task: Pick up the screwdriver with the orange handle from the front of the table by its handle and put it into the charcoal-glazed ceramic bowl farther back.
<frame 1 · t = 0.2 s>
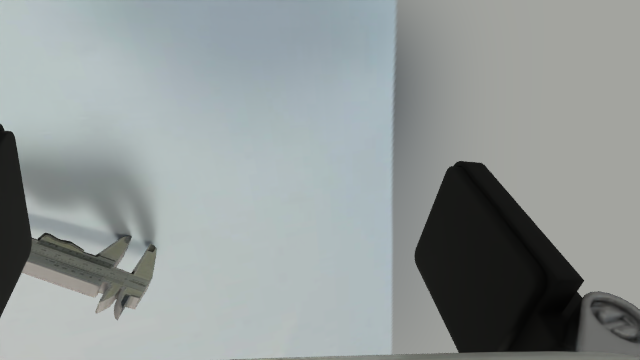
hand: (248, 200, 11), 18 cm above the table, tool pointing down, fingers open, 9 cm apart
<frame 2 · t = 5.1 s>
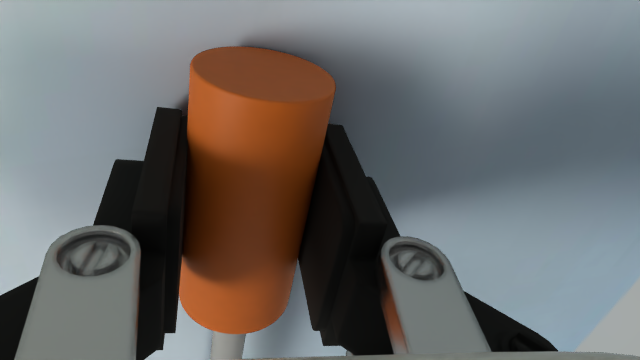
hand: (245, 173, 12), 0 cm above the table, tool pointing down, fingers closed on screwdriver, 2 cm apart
screwdriver: (234, 248, 13), on the table, touching gripper
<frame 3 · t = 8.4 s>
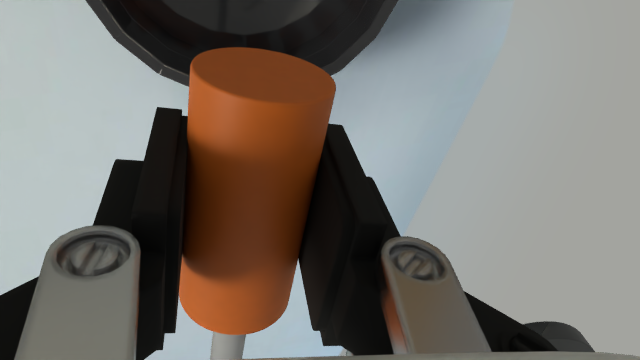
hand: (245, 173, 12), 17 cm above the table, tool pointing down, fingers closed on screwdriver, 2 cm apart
screwdriver: (234, 249, 13), point 17 cm above the table, touching gripper
when the fingers open (4 cm above the table, at t = 11.8 s): screwdriver moves 1 cm, resting on bowl.
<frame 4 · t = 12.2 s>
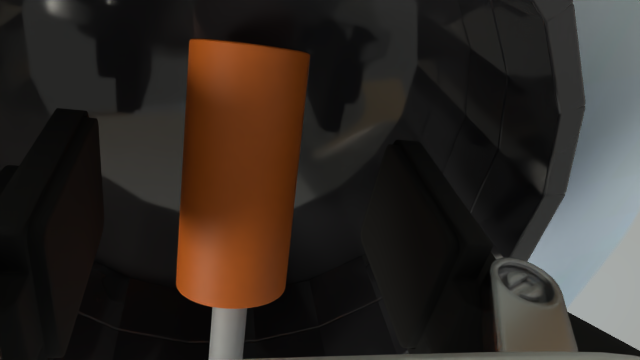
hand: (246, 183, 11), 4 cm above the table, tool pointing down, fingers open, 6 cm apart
bowl: (240, 115, 14), on the table
screwdriver: (229, 256, 14), point 3 cm above the table, tilted 21°, touching bowl
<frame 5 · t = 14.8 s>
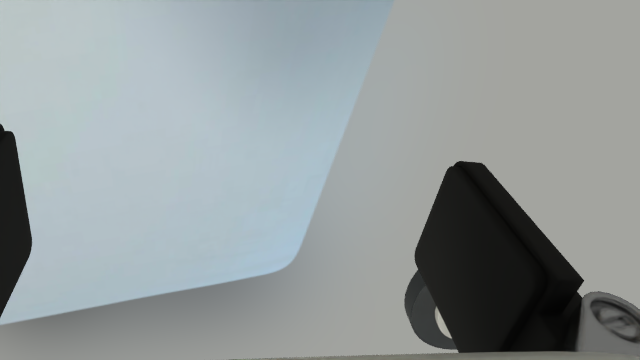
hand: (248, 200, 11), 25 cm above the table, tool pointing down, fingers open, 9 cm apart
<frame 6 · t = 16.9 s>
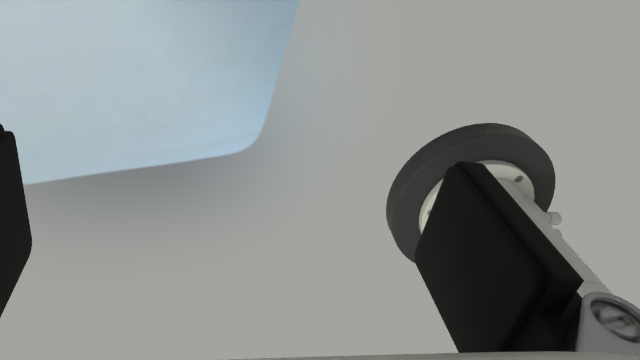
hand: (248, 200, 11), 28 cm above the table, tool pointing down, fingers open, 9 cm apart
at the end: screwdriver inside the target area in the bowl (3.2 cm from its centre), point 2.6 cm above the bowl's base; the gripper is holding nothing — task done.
